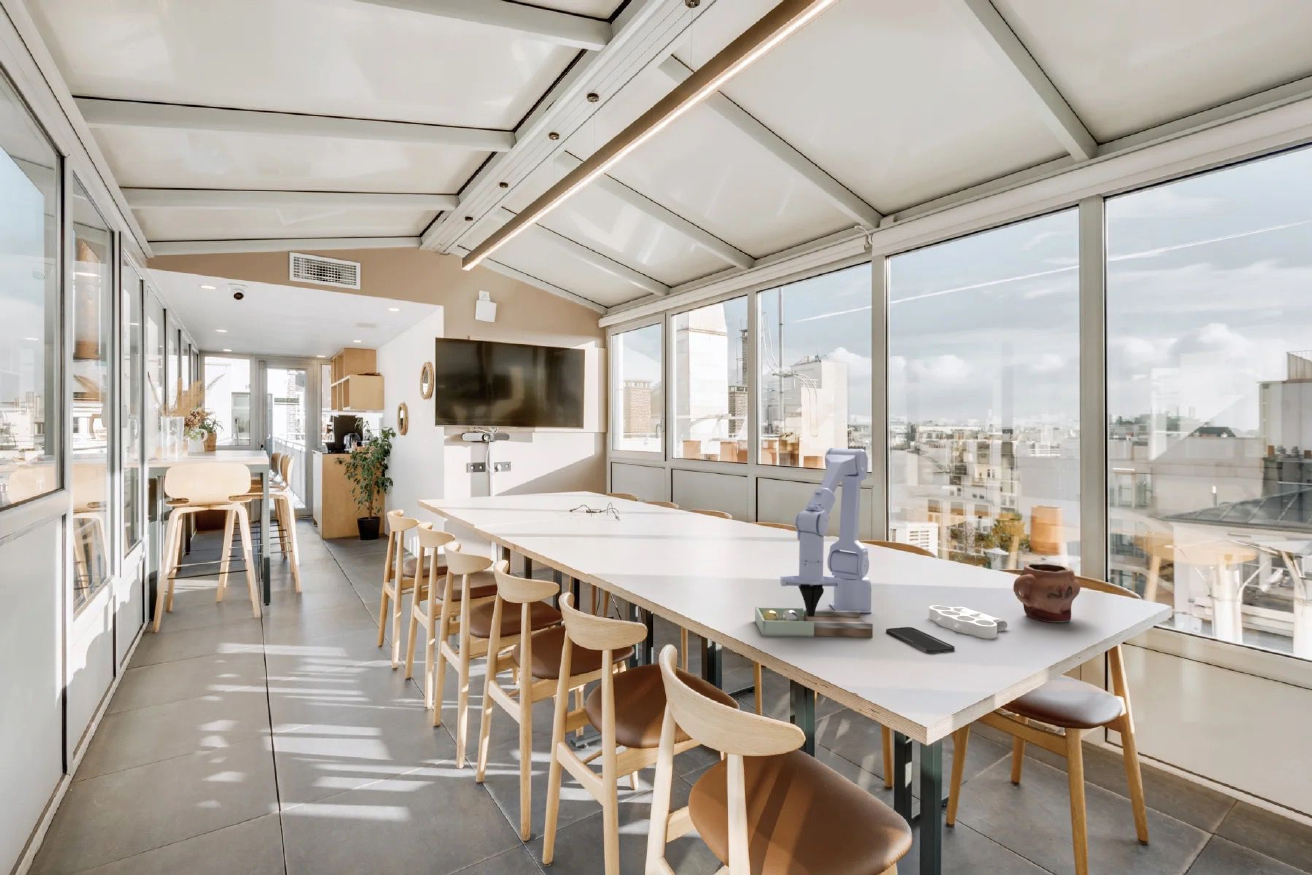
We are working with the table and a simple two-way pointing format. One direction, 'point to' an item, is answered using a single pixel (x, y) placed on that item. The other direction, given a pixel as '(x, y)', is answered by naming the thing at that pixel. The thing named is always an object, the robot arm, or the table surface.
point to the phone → (920, 640)
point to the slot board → (839, 624)
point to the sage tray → (783, 624)
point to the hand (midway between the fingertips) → (810, 615)
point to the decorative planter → (1047, 591)
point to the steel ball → (790, 616)
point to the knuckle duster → (967, 621)
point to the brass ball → (770, 615)
